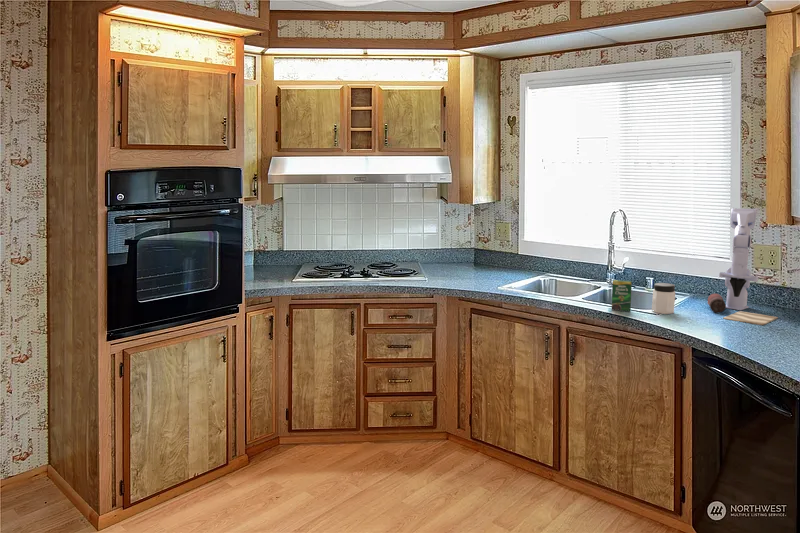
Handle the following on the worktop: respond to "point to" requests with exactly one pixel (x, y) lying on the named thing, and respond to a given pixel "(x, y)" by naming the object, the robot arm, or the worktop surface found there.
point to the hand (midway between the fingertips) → (736, 296)
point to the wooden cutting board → (750, 318)
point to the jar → (663, 298)
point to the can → (716, 303)
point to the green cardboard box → (621, 295)
